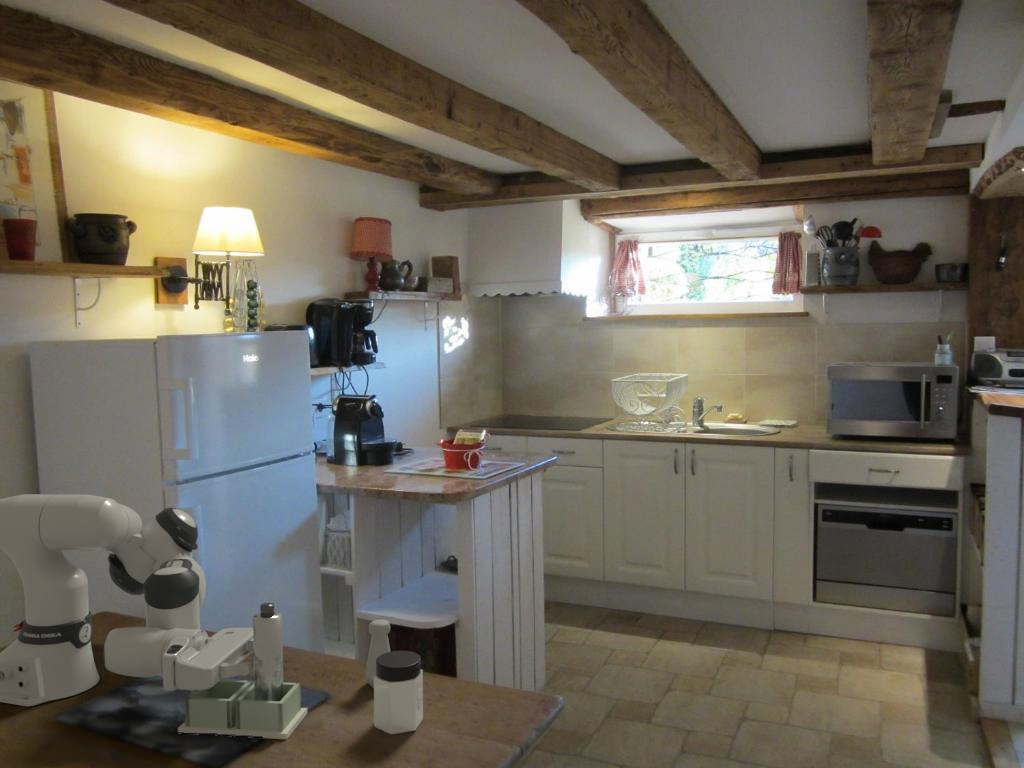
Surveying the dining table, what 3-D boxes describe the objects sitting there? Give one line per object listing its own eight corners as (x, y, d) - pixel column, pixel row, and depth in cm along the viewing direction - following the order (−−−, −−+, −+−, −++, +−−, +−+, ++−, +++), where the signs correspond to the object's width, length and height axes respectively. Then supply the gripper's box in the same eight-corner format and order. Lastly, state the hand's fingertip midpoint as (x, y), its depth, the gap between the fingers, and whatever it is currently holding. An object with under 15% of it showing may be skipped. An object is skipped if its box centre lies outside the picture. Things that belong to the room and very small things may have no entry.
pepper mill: (250, 724, 144) (247, 608, 143) (261, 712, 149) (259, 600, 148) (277, 725, 143) (275, 609, 142) (287, 713, 148) (285, 600, 147)
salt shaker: (388, 691, 160) (387, 627, 159) (361, 689, 161) (360, 625, 160) (398, 679, 165) (397, 617, 165) (371, 677, 167) (371, 615, 166)
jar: (413, 737, 141) (412, 670, 141) (368, 733, 143) (368, 666, 142) (427, 714, 150) (427, 651, 149) (386, 710, 151) (385, 648, 151)
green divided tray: (178, 733, 143) (177, 700, 142) (205, 708, 152) (205, 677, 152) (286, 739, 140) (286, 705, 140) (307, 713, 150) (307, 681, 150)
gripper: (217, 649, 158) (284, 652, 156) (159, 695, 137) (235, 700, 136) (216, 617, 157) (284, 621, 156) (158, 659, 137) (235, 663, 135)
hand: (261, 658), depth 145 cm, fingers open, 8 cm apart
